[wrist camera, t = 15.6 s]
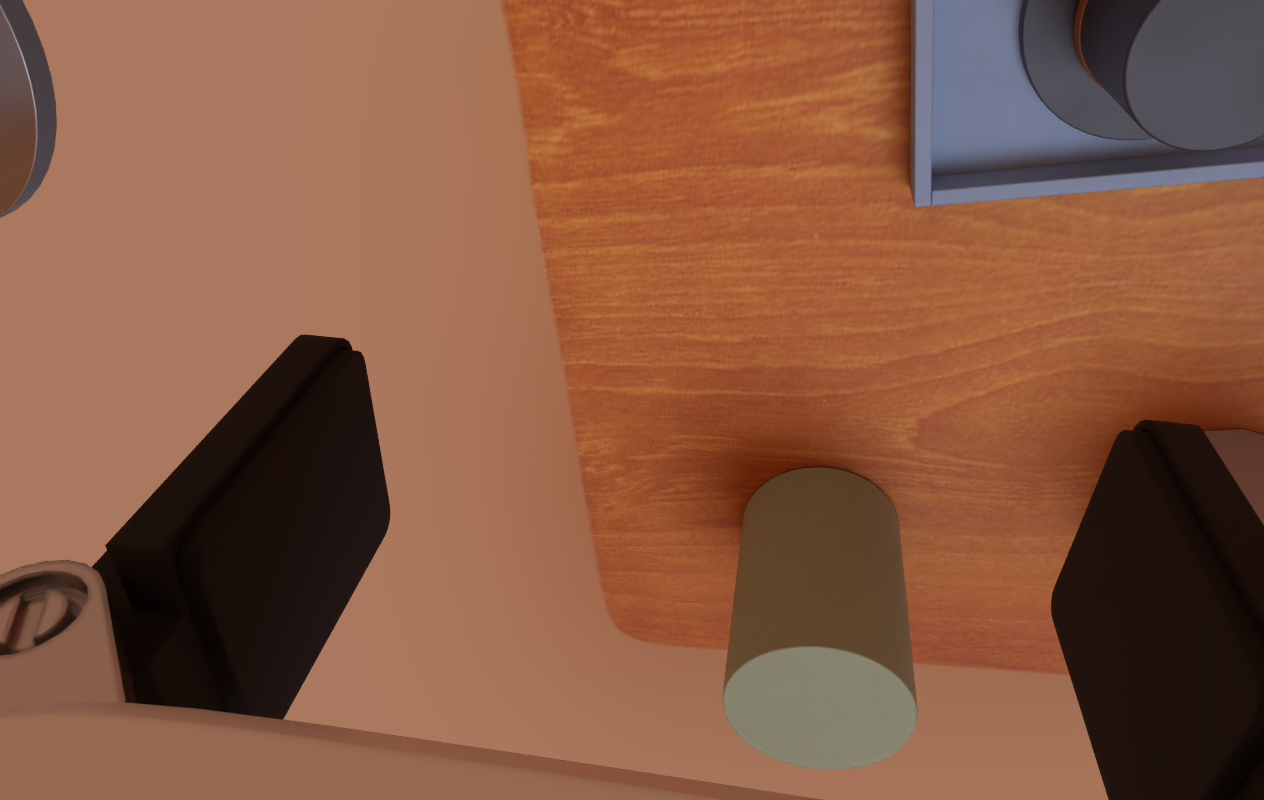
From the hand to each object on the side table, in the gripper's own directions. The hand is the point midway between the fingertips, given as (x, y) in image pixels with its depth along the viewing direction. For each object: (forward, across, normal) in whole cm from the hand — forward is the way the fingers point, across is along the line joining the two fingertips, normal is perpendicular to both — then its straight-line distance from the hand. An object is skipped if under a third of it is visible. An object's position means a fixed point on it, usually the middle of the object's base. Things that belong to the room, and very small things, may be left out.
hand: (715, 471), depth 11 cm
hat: (+24, -12, -2) cm, 28 cm away
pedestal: (+25, -5, +23) cm, 35 cm away
